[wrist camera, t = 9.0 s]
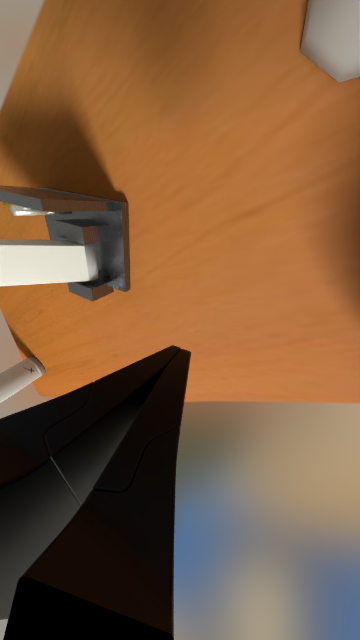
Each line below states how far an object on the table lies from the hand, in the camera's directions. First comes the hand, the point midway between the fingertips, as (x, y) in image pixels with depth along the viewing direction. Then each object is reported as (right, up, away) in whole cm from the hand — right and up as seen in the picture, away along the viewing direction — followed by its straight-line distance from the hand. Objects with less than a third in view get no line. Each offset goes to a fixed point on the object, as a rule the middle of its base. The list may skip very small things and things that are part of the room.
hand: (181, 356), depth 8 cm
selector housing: (-12, +11, +17) cm, 24 cm away
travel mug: (-42, -11, +48) cm, 64 cm away
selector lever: (-10, +9, +15) cm, 20 cm away
